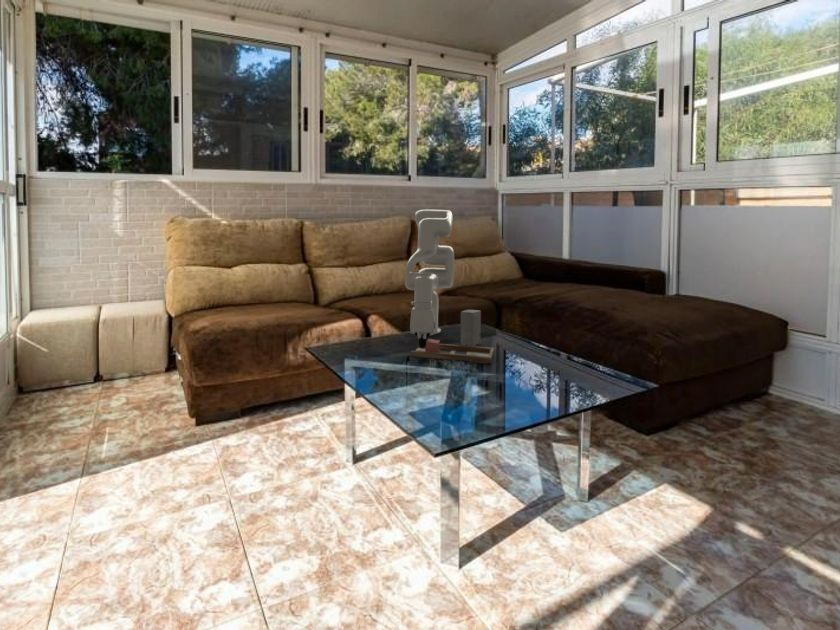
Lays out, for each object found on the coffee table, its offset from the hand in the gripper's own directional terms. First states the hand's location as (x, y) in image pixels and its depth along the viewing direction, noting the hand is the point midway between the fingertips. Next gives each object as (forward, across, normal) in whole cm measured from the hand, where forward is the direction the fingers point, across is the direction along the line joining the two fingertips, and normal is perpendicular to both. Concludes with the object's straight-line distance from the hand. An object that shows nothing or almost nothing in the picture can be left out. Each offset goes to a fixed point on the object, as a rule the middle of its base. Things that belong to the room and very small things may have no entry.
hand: (422, 347), depth 238 cm
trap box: (+3, +13, +1) cm, 13 cm away
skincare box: (+3, +18, +20) cm, 27 cm away
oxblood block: (+2, +4, 0) cm, 5 cm away
